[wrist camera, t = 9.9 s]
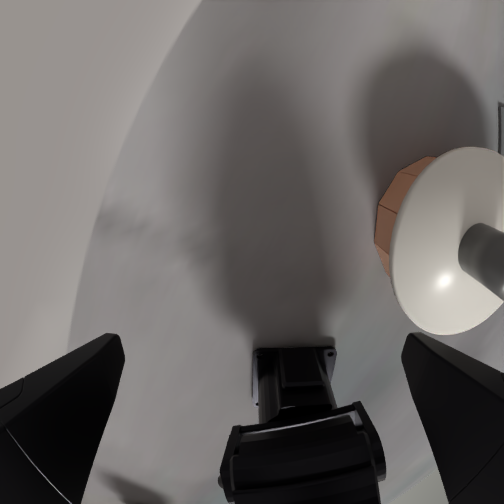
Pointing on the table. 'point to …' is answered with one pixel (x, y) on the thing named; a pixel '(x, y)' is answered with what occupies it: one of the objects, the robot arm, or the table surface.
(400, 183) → the bowl
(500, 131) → the mat
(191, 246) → the table surface
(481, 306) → the lid
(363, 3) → the table surface
